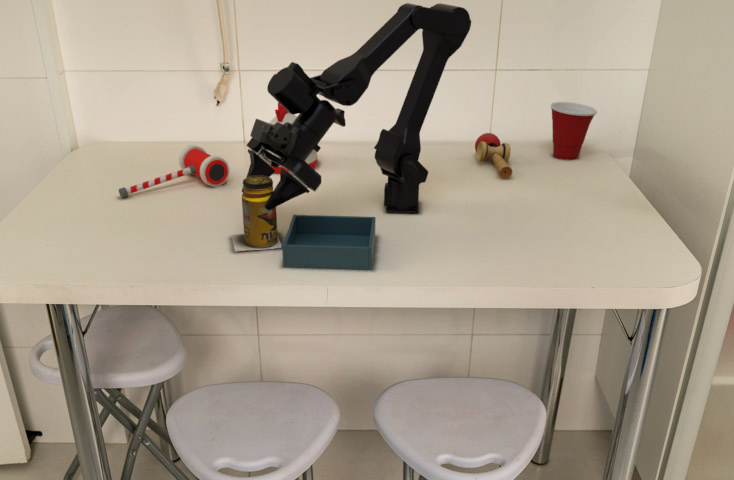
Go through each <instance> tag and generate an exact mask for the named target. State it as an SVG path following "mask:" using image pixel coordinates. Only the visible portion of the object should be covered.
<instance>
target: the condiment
mask: <svg viewBox="0 0 734 480" xmlns="http://www.w3.org/2000/svg"><path fill="white" fill-rule="evenodd" d="M246 177H247V176H246ZM246 177H244V179H243V180H242V188H243V191H244V192H242V194H241V208H242V224H243V234H237V233H236V234H231V235H230V236H231V240H232V244H233V248H234V249H233V250H234V252H246V251H262V250H263V251H264V250H273V249H274V250H275V249H282V246H283V244H282V243H281V241H280V238H279V234H278V218H277V216H278V215H277V207H275V208H273V209H271V210H267V209H266V208H265V204H266V202H267V201H268V199H269V197H270V196H271V194H272V192H273V191H274V180H273V179H272V177H271V176H270V177H268V176H264V175H253V176H249V177H247V178H246Z"/></svg>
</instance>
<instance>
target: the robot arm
mask: <svg viewBox="0 0 734 480" xmlns="http://www.w3.org/2000/svg"><path fill="white" fill-rule="evenodd" d="M471 27H472V19H471V16H470V13H469V11H468V10H467V9H466V8H465V7H462V6H456V5H451V4H446V3H441V2H440V3H436V4H434V5H432V6H430V7H426V6H423V5H419V4H414V3H411V2H406V3H404V4H402V5H400V6H399V7H398V8H397V11H396V12H395V13H394V14H393V16H391V17H390V18H389V19H388V20H387V21H386V22H385V23H384V24H383V25H382V26H381V27H380V28H378V30H377V31H376V32H375V33H374V34H373V35H372V36H370V37H369V39H368V40H367V41H365V43H363V44H362V45H361V46H360V47H359V48H358V49H357V50H356V52H353V53H352V54H351V55H349V56H346V57H344V58H341V59H338V60H337V61H336V62H334V63H333V64H331V65H330V66H328V67H327V68H325V69H324V70H323V71H322V73H320V74H318V75H314V76H311V77H310V76H309V75H308V74H307V73H306V72H305V71H304V69H303V67H302V66H301V65H300V64H299V63H297V62H294V61H291V62H290V63H289V65H288V66H286V67H283V68H282V69H280V70H279V71H277V72H276V73H274V74H273V75H272V77H271V78H270V80H269V82H268V83H267V88H266V89H267V93H268V94H269V95H270V96H271V97H272V98H273V99H274V100H275V101H277V103H278V102H279V103H280V104H281V105H282V106H283V107H284V108H285V109H286V110H287V111H288V112H289V113H290V114H294V115H296V116H297V118H296V119H295V120H294V122H293V123H292V124H291V123H288V122H287V123H285V124H281V123H279V122H277V123H276V124H275V125H273V124H270V123H269V122H267V121H264V120H262V119H259V118H255V121H254V123H253V126H252V128H251V131H250V135H249V136H250V137H251V138H250V140H249V141H248V142H247V144H246V147H247V148H248V149H247V153H248V154H249V160H250V164H249V167H248V171H247V174H246V177H245V178H247V177H249V176H253V175H264V176H268V177H270V178H271V176H272V175H274V174H276V173H275V172H276V171H275V170H274V169H273V168H272V167H274V168H276V167H278V166H282V167H283V168H285V169H287V170H289V172H287V171H285V170H284V169H282V168H280V174H279V181H278V183H277V184H276V186H275V188H273V192H272V194H271V196H270V197H269V199H268V201H267V202H266V204H265V208H266V209H267V210H271V209H273V208H275V207H276V208H277V207H279V206H280V205H282V204H284V203H286V202H289V201H290V200H292V199H294V198H297V197H299V196H301V195H304V194H309V193H310V192H311V191H313V192H317V190H318V189H319V188H320V186H321V185H322V175H321V174H320V173H318V171H316V170H315V168H314V169H313V168H312V167H311V166H310V165H309V164H308V163H306V162H305V160H306V159H307V158H308V156H309V155H310V154H311V152H312V151H313V150H314V151H316V152H317V153H318V152H319V151H320V150H321V146H320V145H319V143H320V142H321V141H322V139H323V138H324V136H325V135H326V134H327V133H328V131H329V130H330V128H331V127H332V126H333V125H334V124H336V125H338V126H341V127H342V128H344V127H346V124H347V123H346V118H345V110H343V109H341V108H336V107H334V105H332V103H331V102H334V103H335V104H338V105H341V106H343V107H345V106H346V107H351V106H353V105H355V104H357V102H358V101H359V100H360V99H361V98H362V96H363V95H364V93H365V92H366V91H367V90H368V88H369V87H370V84H371V79H372V78H373V76H374V74H375V73H376V72H377V71H378V70H379V69H380V68H381V67H382V66H383V65H384V64H385V63H386V62H387V61H388V60H389V59H390V58H391V57H392V56H393V55H394V54H395V53H396V52H398V50H399V49H400V48H401V47H403V45H404V44H405V43H407V41H408V40H409V39H411V37H412V36H413V35H415V34H416V32H418V31H419V30H421V37H422V48H423V49H422V53H421V55H420V58H419V60H418V63H417V66H416V68H415V71H414V74H413V76H412V79H411V82H410V84H409V87H408V90H407V93H406V95H405V98H404V100H403V104H402V105H401V108H400V111H399V114H398V117H397V119H396V122H395V124H393V126H392V127H390V128H389V129H388V130H387V129H385V128H382V129H381V131H380V133H379V135H378V136H379V137H378V140H377V143H376V144H375V145H374V147H373V149H374V150H375V153H374V160H375V162H376V165H377V166H378V167H379V169H380V171H381V174H382V175H383V176H387V182H385V183H384V189H383V190H384V191H383V192H384V193H383V195H384V196H383V206H384V208H385V212H386V213H392V214H394V213H395V214H396V213H398V214H419V212H420V205H419V203H420V201H419V199H420V198H419V196H420V184H423V183H426V182H427V178H428V175H429V170H428V169H427V168H426V167H425V166H424V165H423V164H422V163H421V162H420V161H419V159H420V154H421V151H422V147H421V145H422V144H421V136H420V135H421V130H422V128H423V125H424V122H425V119H426V117H427V115H428V112H429V109H430V107H431V105H432V102H433V99H434V97H435V95H436V91H437V88H438V86H439V83H440V81H441V78H442V75H443V73H444V71H445V68H446V65H447V63H448V61H449V58H451V57H452V56H453V55H454V54H455V53H456V52H457V51H458V50H459V49H460V48H461V47H462V45H463V44H464V42H465V40H466V38H467V36H468V34H469V32H470V31H471ZM317 95H319V96H320V97H323V98H324V99H320V98H319V97H318V96H317ZM297 114H298V115H297ZM271 166H272V167H271ZM243 192H244V191H243V187H242V189H241V193H243Z"/></svg>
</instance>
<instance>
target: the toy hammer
mask: <svg viewBox="0 0 734 480" xmlns="http://www.w3.org/2000/svg"><path fill="white" fill-rule="evenodd" d="M178 163H179V167H180V168H181V169H178V170H177V171H173V172H170V173H167V174H164V175H161V176H159V177H155V178H153V179H150V180H147V181H143V182H141V183H137V184H134V185H132V186H129V187H121V188H118V194H119V196H120V198H121V199H124V198H127V197H128V196H129V195H131V194H134V193H137V192H140V191H143V190H146V189H150V188H151V187H154V186H159V185H161V184H163V183H166V182H169V181H173V180H175V179H178V178H182V177H184V176H187V175H191V176H197V177H198V178H201V179H200V180H201V181H203V183H205V185H208V186H211V187H212V188H214V187H220V186H222V185H224V183H226V181H227V180H228V178H229V175H230V166H229V163H228V162H227V161H226V159H225V158H222V157H220V156H218V155H211V154H209V153H207V151H206V150H205V149H204V148H202V147H200V146H198V145H195V144H190V145H187V146H186V147H184V148H183V149H182V151H180V154H179V156H178Z"/></svg>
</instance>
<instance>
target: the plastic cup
mask: <svg viewBox="0 0 734 480" xmlns="http://www.w3.org/2000/svg"><path fill="white" fill-rule="evenodd" d="M550 109H551V120H552V122H551V123H552V125H551V126H552V127H551V128H552V153H553V157H554V158H555V159H558V160H562V161H563V160H564V161H573V160H577V159H579V158H578V157H579V156H580V153H581V151H582V146H583V144H584V142H585V139H586V136H587V134H588V130H589V127H590V125H591V124H592V120H593V119H594V117H595V115H597V113H598V110H597V109H596V108H594V107H592V106H589V105H586V104H582V103H577V102H570V101H554V102H552V103H550Z"/></svg>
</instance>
